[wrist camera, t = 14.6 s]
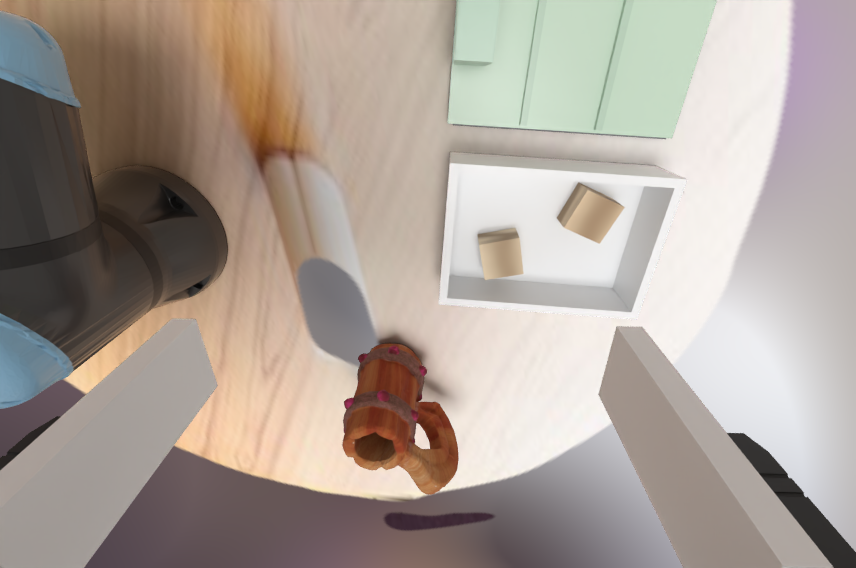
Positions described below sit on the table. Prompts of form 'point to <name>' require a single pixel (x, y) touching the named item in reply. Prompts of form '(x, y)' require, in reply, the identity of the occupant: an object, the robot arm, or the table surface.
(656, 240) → the tub
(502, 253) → the part
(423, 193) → the table surface
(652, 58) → the lid
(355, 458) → the mug
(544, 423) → the table surface
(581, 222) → the part
